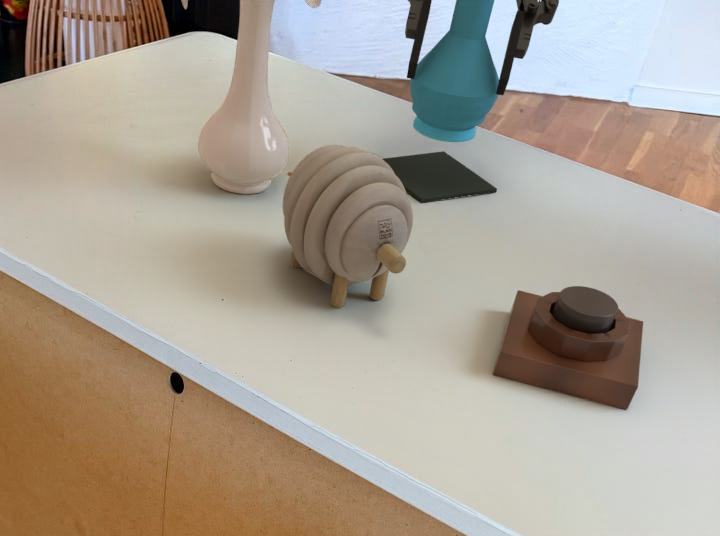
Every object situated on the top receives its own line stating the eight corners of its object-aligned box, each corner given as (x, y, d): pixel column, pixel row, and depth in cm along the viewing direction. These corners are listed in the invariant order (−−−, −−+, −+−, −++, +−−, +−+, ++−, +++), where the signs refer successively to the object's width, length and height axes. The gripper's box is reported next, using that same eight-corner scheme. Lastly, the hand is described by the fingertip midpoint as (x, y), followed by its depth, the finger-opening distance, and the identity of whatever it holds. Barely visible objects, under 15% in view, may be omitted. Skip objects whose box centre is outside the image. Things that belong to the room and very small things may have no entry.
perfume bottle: (392, 109, 99) (426, -61, 88) (473, 114, 100) (517, -53, 89) (412, 145, 93) (451, -33, 82) (498, 149, 94) (548, -25, 83)
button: (611, 314, 77) (620, 294, 75) (608, 342, 74) (616, 322, 72) (554, 300, 77) (562, 280, 76) (548, 327, 74) (556, 307, 73)
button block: (633, 343, 81) (652, 301, 78) (626, 410, 74) (648, 366, 71) (510, 312, 82) (524, 270, 79) (492, 374, 75) (507, 330, 72)
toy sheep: (332, 234, 89) (353, 110, 81) (440, 319, 81) (477, 190, 72) (239, 252, 85) (251, 123, 77) (343, 344, 76) (369, 210, 68)
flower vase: (127, 175, 94) (127, -142, 75) (269, 145, 102) (301, -146, 83) (200, 229, 87) (221, -102, 69) (345, 193, 96) (398, -111, 77)
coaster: (496, 192, 100) (497, 188, 99) (421, 203, 96) (422, 199, 96) (443, 154, 105) (443, 151, 105) (370, 163, 101) (370, 159, 101)
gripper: (610, -112, 92) (554, 118, 93) (401, -146, 93) (350, 80, 95) (635, -175, 84) (574, 77, 86) (408, -210, 86) (352, 37, 87)
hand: (456, 78), depth 90 cm, fingers closed on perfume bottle, 8 cm apart
